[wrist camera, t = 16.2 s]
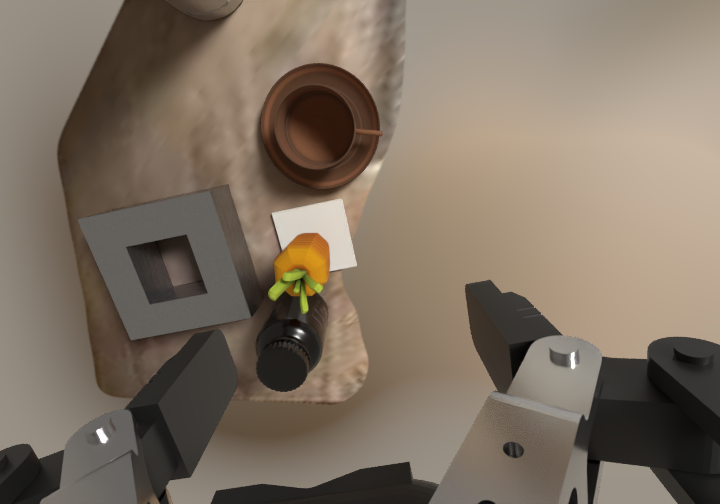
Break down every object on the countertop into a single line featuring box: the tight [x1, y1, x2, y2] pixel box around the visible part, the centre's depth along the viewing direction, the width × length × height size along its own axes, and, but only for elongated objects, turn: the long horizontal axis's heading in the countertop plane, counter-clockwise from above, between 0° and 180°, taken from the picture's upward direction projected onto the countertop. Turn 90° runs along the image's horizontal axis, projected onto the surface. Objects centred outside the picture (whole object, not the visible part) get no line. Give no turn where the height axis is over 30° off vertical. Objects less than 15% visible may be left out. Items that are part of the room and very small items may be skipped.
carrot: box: [268, 233, 330, 314], centre depth 34 cm, size 5×5×15 cm
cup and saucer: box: [261, 63, 383, 189], centre depth 36 cm, size 12×12×6 cm
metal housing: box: [77, 185, 264, 340], centre depth 41 cm, size 14×14×5 cm
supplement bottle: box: [256, 291, 328, 392], centre depth 39 cm, size 7×7×12 cm
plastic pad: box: [272, 198, 357, 271], centre depth 42 cm, size 8×8×1 cm
